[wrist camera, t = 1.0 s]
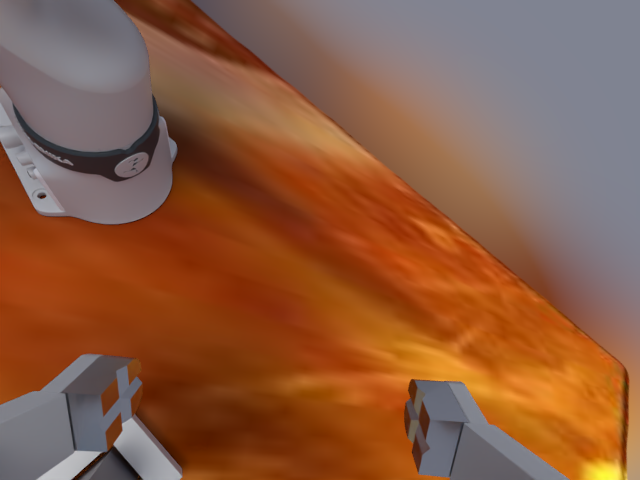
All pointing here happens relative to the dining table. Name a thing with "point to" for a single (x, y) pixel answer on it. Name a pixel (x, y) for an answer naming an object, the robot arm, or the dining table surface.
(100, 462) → the plug
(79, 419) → the robot arm
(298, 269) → the dining table surface
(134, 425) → the socket block
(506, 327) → the dining table surface
